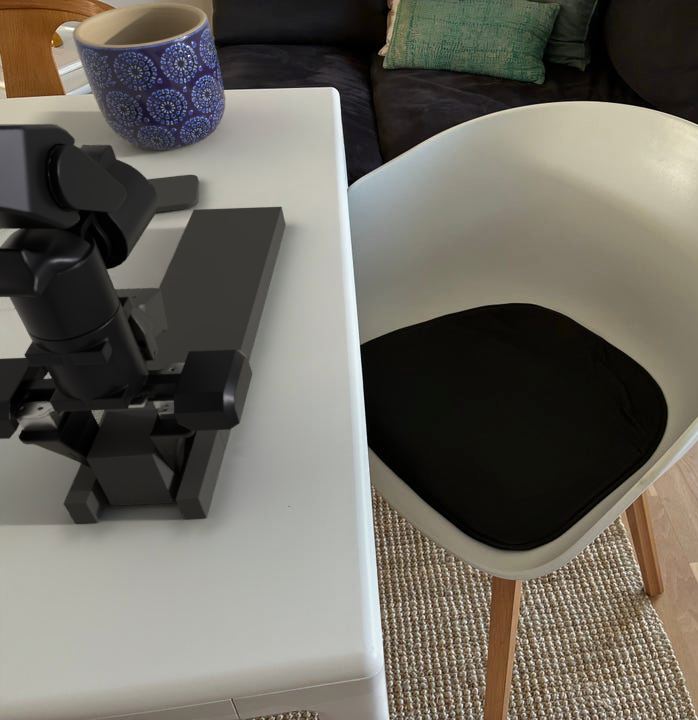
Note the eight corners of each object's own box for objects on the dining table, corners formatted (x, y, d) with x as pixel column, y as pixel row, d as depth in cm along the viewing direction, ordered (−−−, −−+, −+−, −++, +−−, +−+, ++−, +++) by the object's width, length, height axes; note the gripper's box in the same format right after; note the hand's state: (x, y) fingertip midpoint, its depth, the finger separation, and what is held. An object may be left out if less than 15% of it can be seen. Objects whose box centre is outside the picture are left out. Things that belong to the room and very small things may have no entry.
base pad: (207, 518, 59) (198, 498, 58) (74, 524, 59) (62, 503, 57) (285, 225, 90) (281, 206, 89) (199, 228, 90) (193, 209, 88)
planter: (219, 160, 102) (189, 45, 92) (93, 163, 102) (49, 49, 92) (245, 106, 114) (221, 0, 104) (132, 109, 114) (97, 3, 104)
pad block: (174, 503, 60) (152, 455, 56) (111, 505, 60) (85, 458, 56) (189, 455, 63) (169, 408, 60) (129, 458, 63) (106, 410, 59)
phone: (196, 202, 93) (62, 218, 90) (198, 208, 93) (64, 224, 91) (198, 173, 98) (72, 187, 95) (199, 179, 99) (74, 193, 96)
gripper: (241, 238, 56) (281, 392, 67) (-20, 247, 56) (62, 401, 66) (208, 337, 48) (260, 496, 58) (-99, 349, 48) (8, 507, 58)
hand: (146, 469), depth 60 cm, fingers closed on pad block, 5 cm apart
